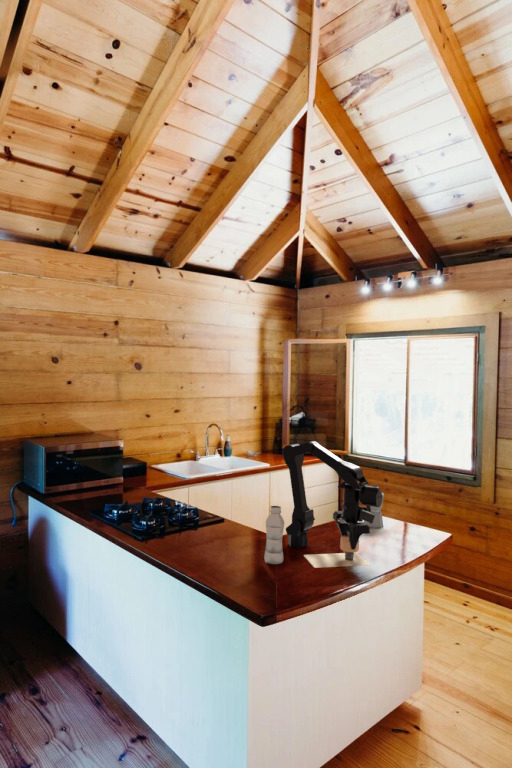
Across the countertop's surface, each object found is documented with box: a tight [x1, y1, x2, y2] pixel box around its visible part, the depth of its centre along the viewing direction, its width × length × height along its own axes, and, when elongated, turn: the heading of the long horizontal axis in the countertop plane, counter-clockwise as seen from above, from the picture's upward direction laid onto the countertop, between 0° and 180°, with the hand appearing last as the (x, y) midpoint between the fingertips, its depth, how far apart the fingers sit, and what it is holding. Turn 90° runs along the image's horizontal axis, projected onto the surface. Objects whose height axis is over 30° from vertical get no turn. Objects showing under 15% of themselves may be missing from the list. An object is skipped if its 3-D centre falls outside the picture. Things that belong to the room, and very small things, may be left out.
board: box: [303, 551, 370, 569], centre depth 175 cm, size 20×12×5 cm, turn 103°
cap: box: [339, 535, 360, 553], centre depth 176 cm, size 6×6×4 cm
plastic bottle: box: [263, 505, 285, 565], centre depth 172 cm, size 6×7×20 cm
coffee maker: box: [363, 484, 385, 529], centre depth 223 cm, size 15×9×18 cm, turn 144°
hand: (349, 546), depth 176 cm, fingers closed on cap, 6 cm apart
